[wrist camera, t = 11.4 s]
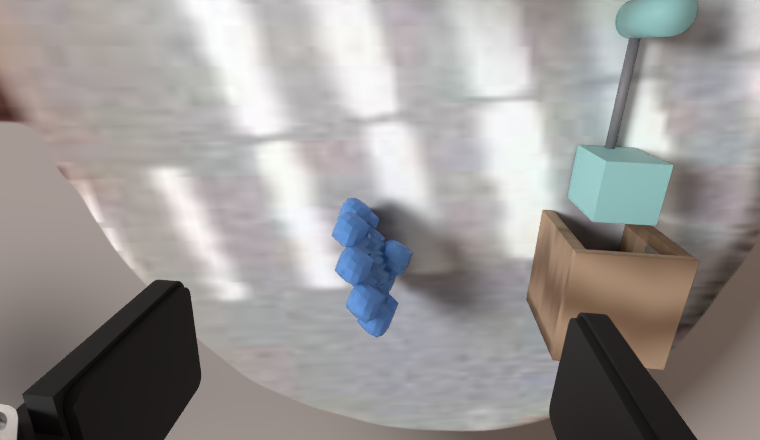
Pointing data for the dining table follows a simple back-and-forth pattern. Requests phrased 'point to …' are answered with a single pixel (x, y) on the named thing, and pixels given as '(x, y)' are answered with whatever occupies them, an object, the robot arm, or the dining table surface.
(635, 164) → the teal blocks with rod
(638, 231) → the open wooden box
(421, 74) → the dining table surface
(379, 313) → the grapes
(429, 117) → the dining table surface
